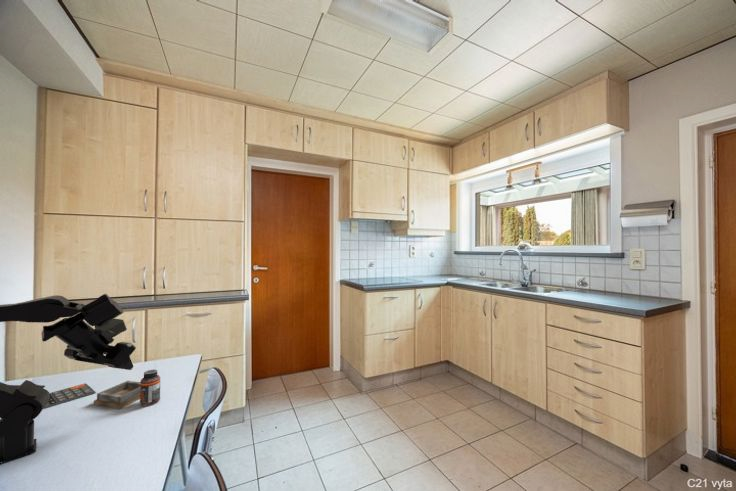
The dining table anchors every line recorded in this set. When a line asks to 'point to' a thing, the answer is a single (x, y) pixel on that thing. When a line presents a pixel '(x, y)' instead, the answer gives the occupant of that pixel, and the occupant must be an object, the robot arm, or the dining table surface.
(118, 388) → the collar stand
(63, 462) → the dining table surface
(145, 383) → the supplement bottle
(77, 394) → the calculator
